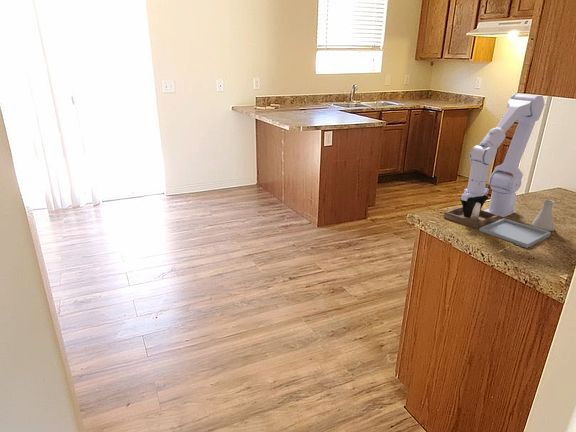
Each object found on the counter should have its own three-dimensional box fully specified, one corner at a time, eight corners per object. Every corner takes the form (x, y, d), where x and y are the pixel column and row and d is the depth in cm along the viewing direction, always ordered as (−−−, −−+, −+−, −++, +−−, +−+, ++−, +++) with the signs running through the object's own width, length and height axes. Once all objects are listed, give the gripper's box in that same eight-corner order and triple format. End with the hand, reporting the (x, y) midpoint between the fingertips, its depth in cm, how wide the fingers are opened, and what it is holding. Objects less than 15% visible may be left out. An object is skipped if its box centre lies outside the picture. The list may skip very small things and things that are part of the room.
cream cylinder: (468, 215, 156) (470, 200, 154) (480, 219, 152) (483, 204, 150) (460, 218, 153) (463, 202, 151) (473, 222, 149) (476, 206, 147)
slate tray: (503, 221, 151) (503, 218, 151) (549, 236, 139) (550, 232, 139) (478, 231, 142) (479, 227, 142) (526, 248, 130) (527, 244, 130)
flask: (557, 232, 142) (564, 205, 139) (534, 231, 144) (541, 203, 140) (549, 225, 149) (556, 198, 145) (527, 223, 150) (533, 197, 147)
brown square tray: (464, 211, 161) (465, 204, 161) (498, 221, 151) (499, 215, 150) (443, 218, 154) (444, 212, 153) (477, 230, 144) (478, 223, 143)
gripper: (478, 174, 154) (472, 208, 159) (455, 180, 146) (449, 216, 151) (496, 178, 149) (489, 213, 154) (474, 185, 141) (467, 222, 146)
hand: (471, 215), depth 152 cm, fingers closed on cream cylinder, 5 cm apart
